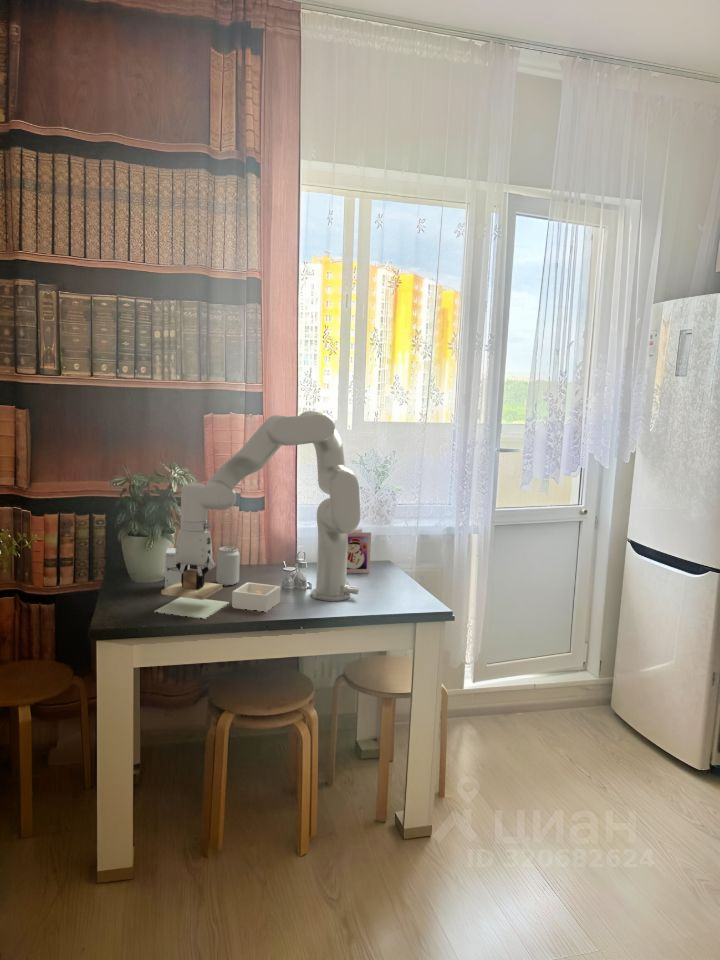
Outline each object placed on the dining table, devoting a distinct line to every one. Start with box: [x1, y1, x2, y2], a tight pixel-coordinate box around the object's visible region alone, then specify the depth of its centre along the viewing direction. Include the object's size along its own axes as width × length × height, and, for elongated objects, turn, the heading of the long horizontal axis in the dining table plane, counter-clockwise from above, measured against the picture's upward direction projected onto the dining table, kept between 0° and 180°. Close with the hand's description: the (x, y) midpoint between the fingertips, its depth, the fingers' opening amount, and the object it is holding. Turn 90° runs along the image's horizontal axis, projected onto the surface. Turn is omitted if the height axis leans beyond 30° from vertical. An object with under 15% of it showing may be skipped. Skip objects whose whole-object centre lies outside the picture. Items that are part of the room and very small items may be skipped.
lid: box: [160, 569, 223, 600], centre depth 216 cm, size 13×13×6 cm
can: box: [215, 546, 241, 587], centre depth 243 cm, size 8×8×12 cm
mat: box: [154, 597, 230, 620], centre depth 217 cm, size 16×16×1 cm
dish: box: [231, 581, 282, 613], centre depth 222 cm, size 11×11×5 cm
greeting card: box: [346, 528, 372, 574], centre depth 266 cm, size 11×7×15 cm, turn 101°
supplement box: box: [164, 547, 190, 589], centre depth 235 cm, size 7×7×13 cm
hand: (192, 586), depth 216 cm, fingers closed on lid, 4 cm apart
